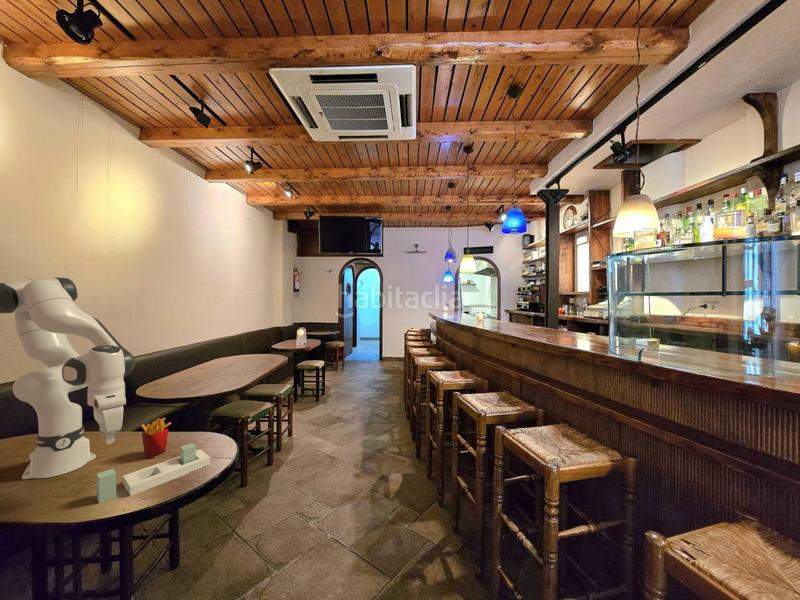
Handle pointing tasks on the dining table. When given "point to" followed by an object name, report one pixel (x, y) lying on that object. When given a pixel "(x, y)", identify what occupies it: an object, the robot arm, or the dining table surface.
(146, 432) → the french fries
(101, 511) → the dining table surface
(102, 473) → the block
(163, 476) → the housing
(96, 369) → the robot arm
